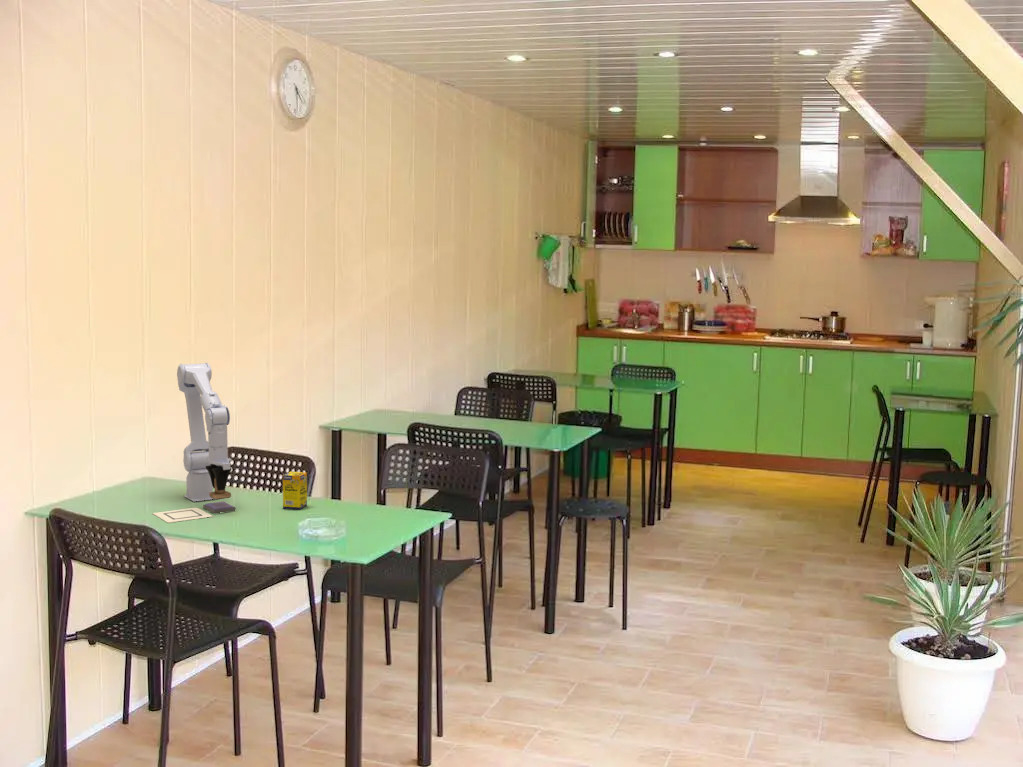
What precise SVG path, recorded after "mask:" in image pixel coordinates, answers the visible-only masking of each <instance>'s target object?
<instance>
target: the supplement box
mask: <svg viewBox="0 0 1023 767" xmlns="http://www.w3.org/2000/svg"><path fill="white" fill-rule="evenodd" d="M305 507H308V473H307V472H305V471H304V472H302V471H289V472H287V473H285V474H282V509H283V510H294V511H295V510H297V511H301V510H302V509H303V508H305Z"/></svg>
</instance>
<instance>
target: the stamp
mask: <svg viewBox="0 0 1023 767" xmlns="http://www.w3.org/2000/svg"><path fill="white" fill-rule="evenodd" d="M214 486H215V488H214V491H213V492H209V496H210V497H211V498H213V500H215V501H217V500H224V499H229V498H231V497H232V493H231V492H230V491H227V490H226V489H225V490H220V491H218V489H217V485H216V479H214Z"/></svg>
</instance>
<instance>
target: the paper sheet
mask: <svg viewBox="0 0 1023 767" xmlns="http://www.w3.org/2000/svg"><path fill="white" fill-rule="evenodd" d="M152 515H154V516H156V517H157V518H159V519H160V520H162V521H163V522H165V523H168V524H172V523H179V522H186V520H187V521H192V520H193V519H194V520H200V519H199V518H202V519H208V518H207V517H209V518H213V517H214V515H212V514H210V513H209V512H207V511H204V510H203V509H201V508H198V507H191V508H189V507H188V508H183V509H182V508H181V509H174V510H168V511H160V512H152Z"/></svg>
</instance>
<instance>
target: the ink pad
mask: <svg viewBox="0 0 1023 767" xmlns="http://www.w3.org/2000/svg"><path fill="white" fill-rule="evenodd" d="M202 507H203V508H204V510H205V509H206V511H207V510H208V512H209V511H210V512H209V513H211V512H212V513H211V514H213V513H218V514H221V513H220V512H225V513H227V512H226V511H233V512H236V511H235V510H237V508H236V507H235V506H234V505H231V504H229V502H228V503H227V502H226V501H224V500H223V501H217V502H216V501H215V502H209V503H204V504H203V505H202Z"/></svg>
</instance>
